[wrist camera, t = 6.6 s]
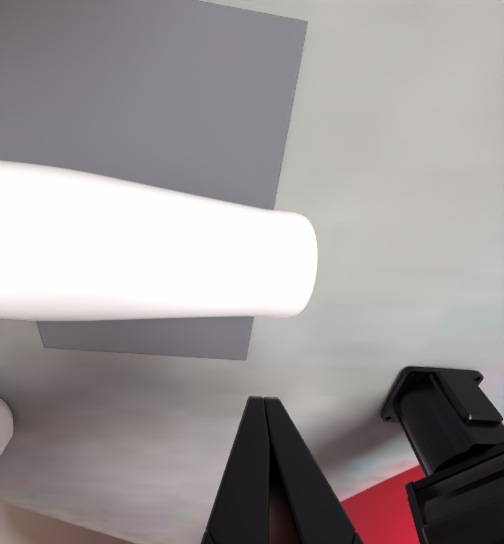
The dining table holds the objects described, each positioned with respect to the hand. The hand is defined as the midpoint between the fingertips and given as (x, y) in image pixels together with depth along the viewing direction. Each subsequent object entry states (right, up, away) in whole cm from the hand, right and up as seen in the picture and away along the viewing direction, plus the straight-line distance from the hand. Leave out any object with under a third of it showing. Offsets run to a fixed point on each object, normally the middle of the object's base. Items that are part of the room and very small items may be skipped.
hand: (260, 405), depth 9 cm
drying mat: (-6, +7, +9) cm, 13 cm away
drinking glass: (+2, +4, +8) cm, 9 cm away
